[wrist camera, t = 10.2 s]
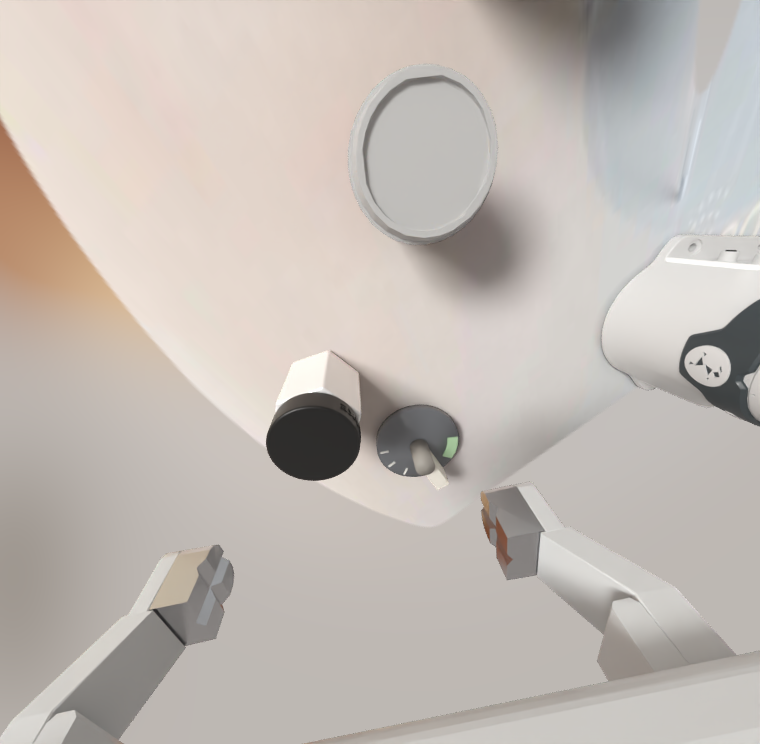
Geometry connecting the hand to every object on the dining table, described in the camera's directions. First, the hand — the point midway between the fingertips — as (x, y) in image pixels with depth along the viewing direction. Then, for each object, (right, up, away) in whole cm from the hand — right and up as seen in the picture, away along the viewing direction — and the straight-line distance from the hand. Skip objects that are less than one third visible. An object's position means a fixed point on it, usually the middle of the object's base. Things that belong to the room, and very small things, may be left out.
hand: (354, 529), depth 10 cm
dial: (+6, -4, +33) cm, 33 cm away
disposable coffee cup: (+3, +23, +20) cm, 30 cm away
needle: (+7, -6, +32) cm, 34 cm away
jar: (-6, +4, +28) cm, 29 cm away
